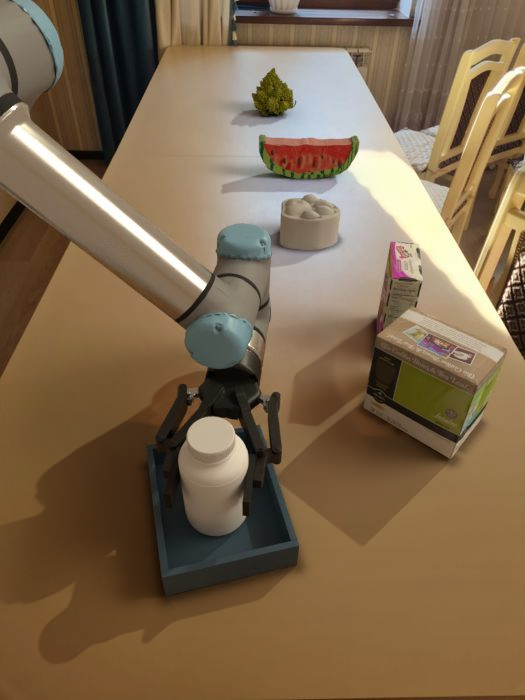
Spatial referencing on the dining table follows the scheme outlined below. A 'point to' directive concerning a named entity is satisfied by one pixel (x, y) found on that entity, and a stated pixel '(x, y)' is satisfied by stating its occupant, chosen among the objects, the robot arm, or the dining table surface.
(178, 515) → the tray
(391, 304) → the candy bar box
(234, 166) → the dining table surface
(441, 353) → the tea box
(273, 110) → the vegetable
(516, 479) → the dining table surface
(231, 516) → the pill bottle
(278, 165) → the fruit slice
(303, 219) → the lumpy-topped squat cylinder
